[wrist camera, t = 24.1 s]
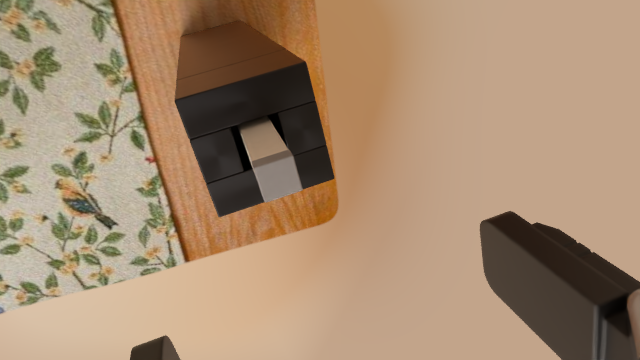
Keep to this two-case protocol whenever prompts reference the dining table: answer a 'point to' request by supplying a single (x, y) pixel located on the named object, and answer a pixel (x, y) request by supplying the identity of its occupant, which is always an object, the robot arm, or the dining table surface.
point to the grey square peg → (270, 159)
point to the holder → (246, 109)
